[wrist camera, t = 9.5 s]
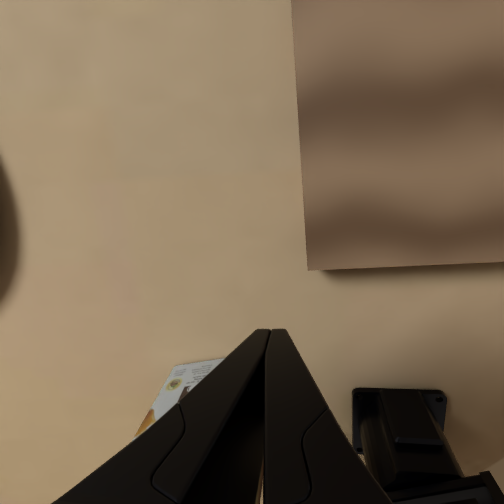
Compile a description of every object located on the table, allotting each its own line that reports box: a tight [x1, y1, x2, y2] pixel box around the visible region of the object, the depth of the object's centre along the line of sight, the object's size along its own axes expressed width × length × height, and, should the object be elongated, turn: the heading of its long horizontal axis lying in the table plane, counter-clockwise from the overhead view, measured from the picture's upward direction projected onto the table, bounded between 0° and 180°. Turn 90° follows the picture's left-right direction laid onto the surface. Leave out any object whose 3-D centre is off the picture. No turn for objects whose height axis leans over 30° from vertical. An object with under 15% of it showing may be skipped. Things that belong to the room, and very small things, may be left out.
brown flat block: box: [291, 0, 504, 271], centre depth 15 cm, size 16×12×2 cm
